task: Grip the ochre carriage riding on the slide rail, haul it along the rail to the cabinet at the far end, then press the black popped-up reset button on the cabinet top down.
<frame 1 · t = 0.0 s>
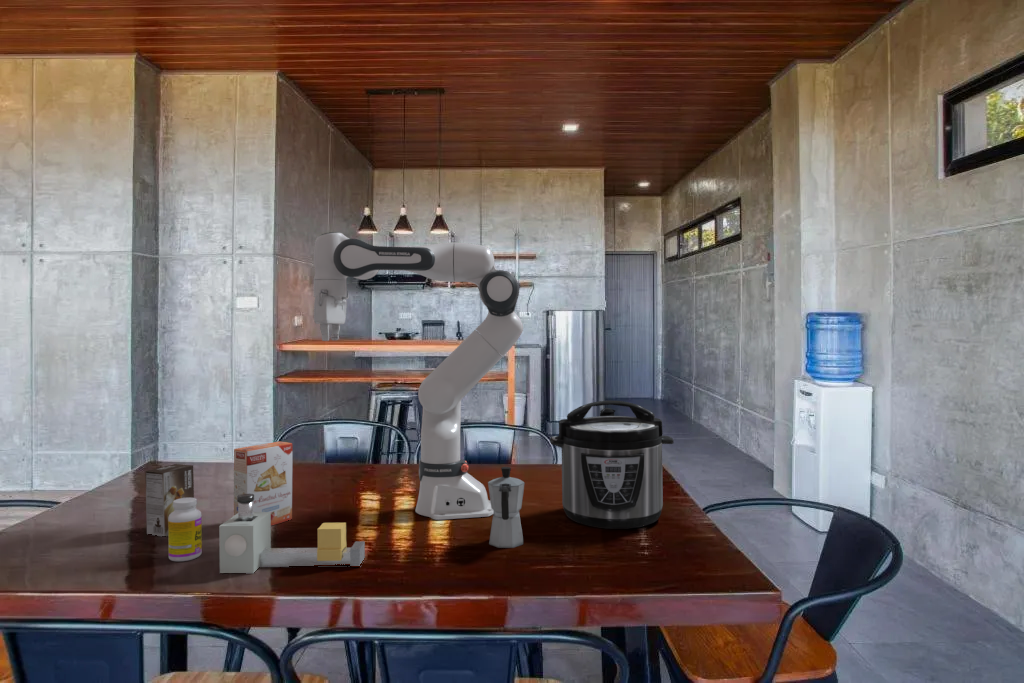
hand: (330, 340, 175), 48 cm above the table, tool pointing down, fingers open, 8 cm apart
supplement bottle: (185, 558, 140), on the table
slide rail: (306, 564, 136), on the table
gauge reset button: (245, 511, 135), point 12 cm above the table, slide at 0.0 cm
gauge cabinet: (246, 564, 135), on the table
cracker box: (264, 525, 163), on the table
pressure cooker: (611, 518, 169), on the table
coffee maker: (506, 544, 149), on the table
coffee box: (170, 531, 159), on the table
rail carriage: (332, 541, 136), point 5 cm above the table, slide at 0.0 cm
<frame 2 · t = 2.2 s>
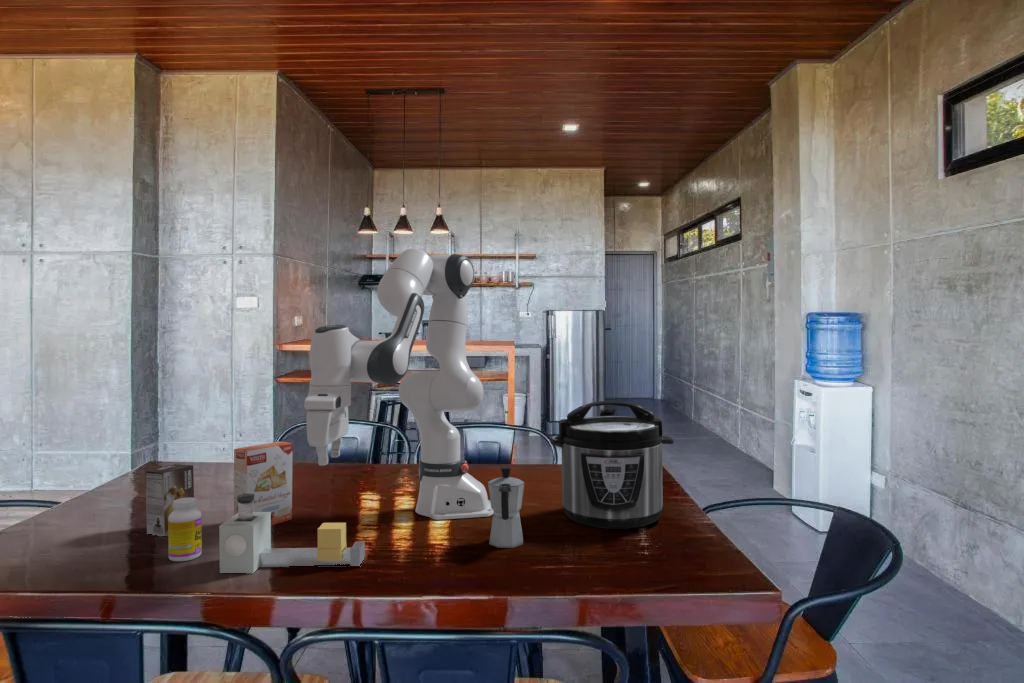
hand: (329, 460, 138), 22 cm above the table, tool pointing down, fingers open, 8 cm apart
nothing on the table moved.
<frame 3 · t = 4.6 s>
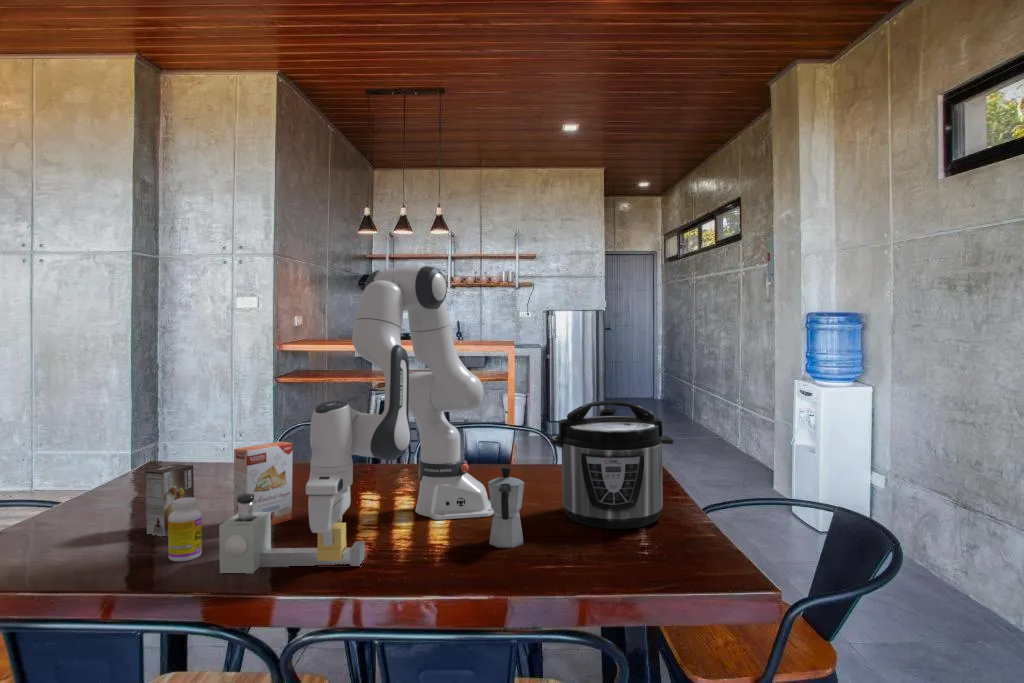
hand: (332, 540, 136), 5 cm above the table, tool pointing down, fingers closed on rail carriage, 4 cm apart
rail carriage: (332, 541, 136), point 5 cm above the table, slide at 0.0 cm, touching gripper
everything else where it was.
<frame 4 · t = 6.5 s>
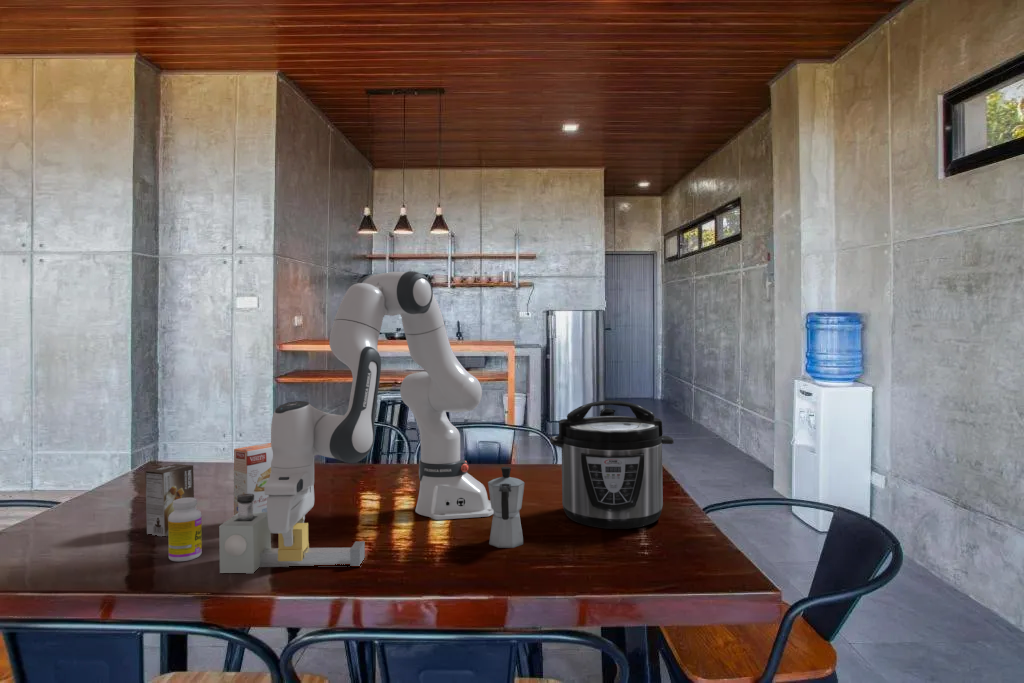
hand: (293, 540, 135), 5 cm above the table, tool pointing down, fingers closed on rail carriage, 4 cm apart
rail carriage: (293, 541, 135), point 5 cm above the table, slide at 8.3 cm, touching gripper
everything else where it was.
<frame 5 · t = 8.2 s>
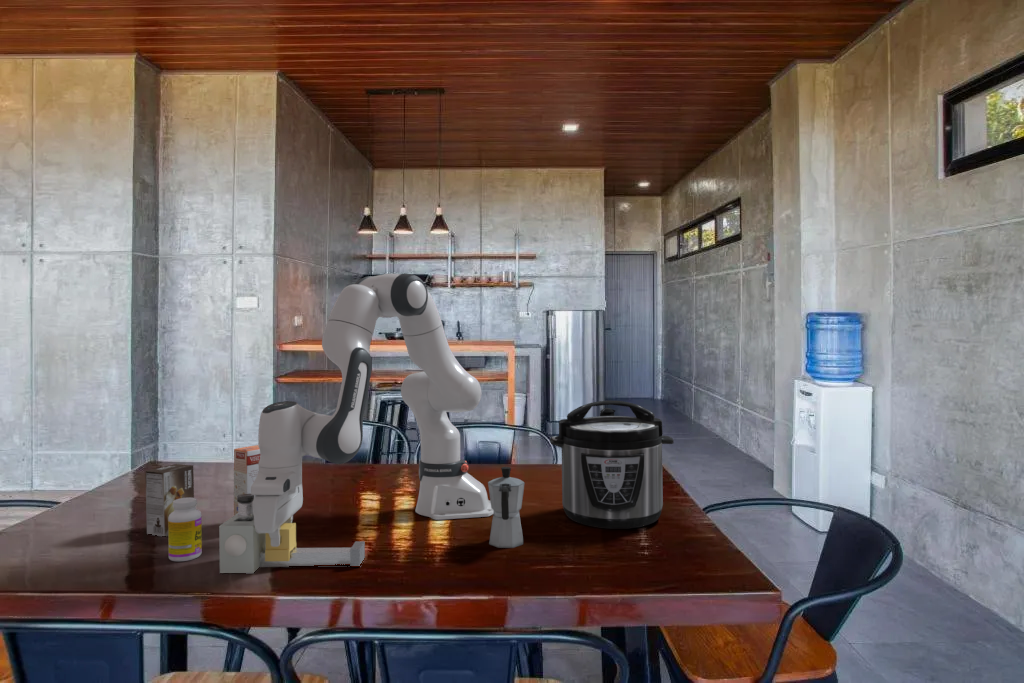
hand: (280, 540, 135), 5 cm above the table, tool pointing down, fingers closed on rail carriage, 4 cm apart
rail carriage: (281, 541, 135), point 5 cm above the table, slide at 11.0 cm, touching gripper
everything else where it was.
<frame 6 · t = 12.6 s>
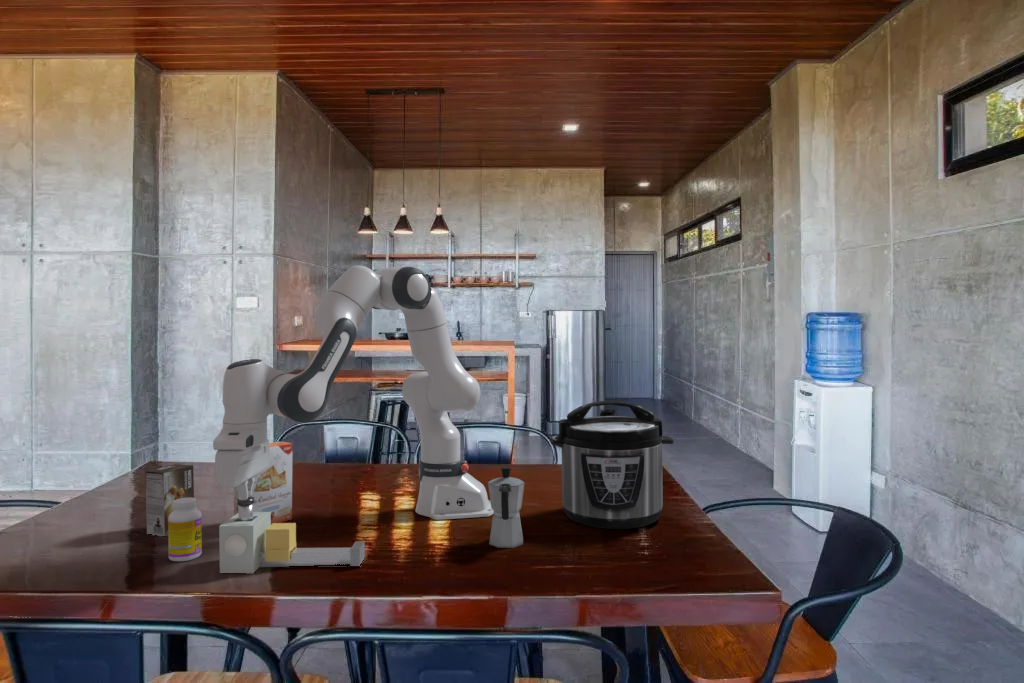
hand: (245, 498, 135), 14 cm above the table, tool pointing down, fingers closed, pressing on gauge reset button
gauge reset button: (245, 514, 135), point 11 cm above the table, slide at 0.6 cm, touching gripper
rail carriage: (281, 541, 135), point 5 cm above the table, slide at 11.0 cm
everything else where it was.
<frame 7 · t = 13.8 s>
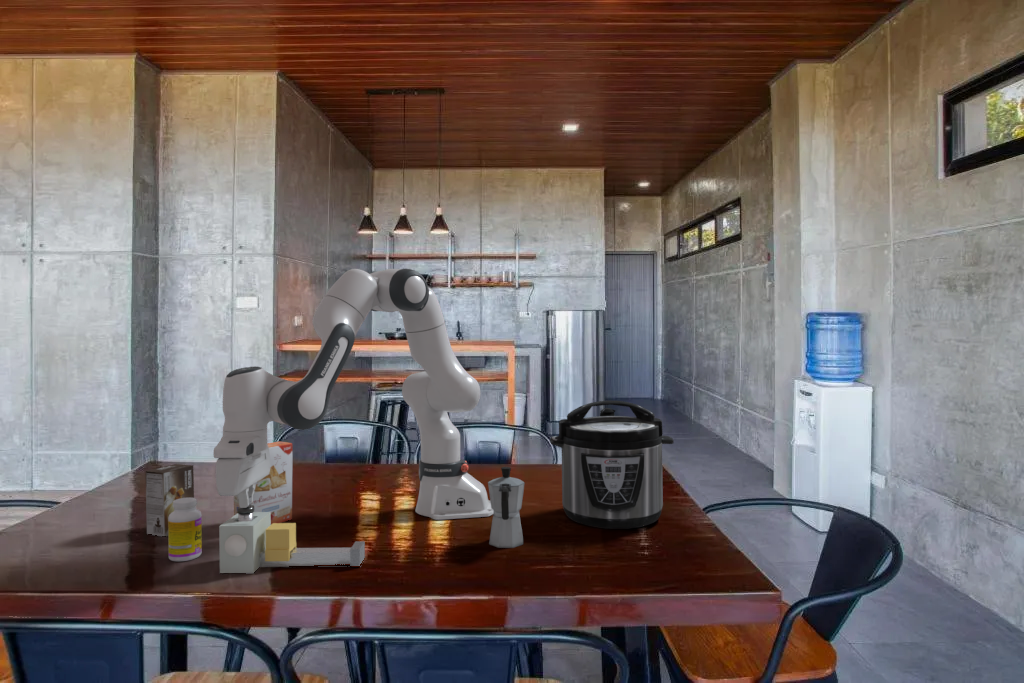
hand: (246, 506, 135), 13 cm above the table, tool pointing down, fingers closed
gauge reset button: (245, 523, 135), point 9 cm above the table, slide at 2.5 cm
everything else where it was.
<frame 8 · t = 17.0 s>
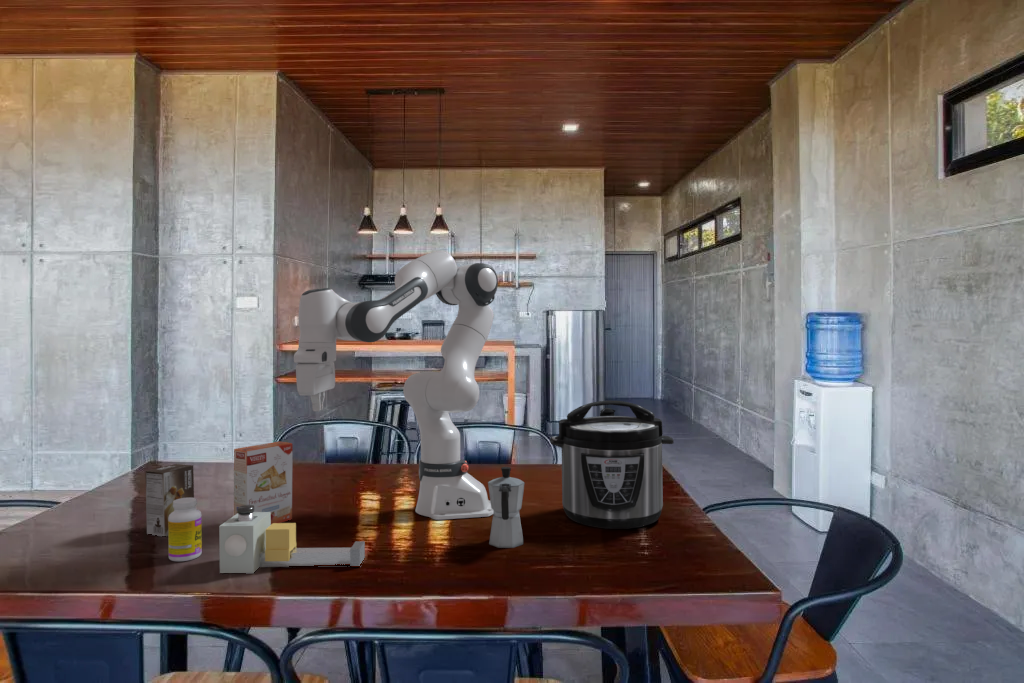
hand: (317, 410, 153), 31 cm above the table, tool pointing down, fingers closed
nothing on the table moved.
at the end: rail carriage slide at 11.0 cm; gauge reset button slide at 2.5 cm; the gripper is holding nothing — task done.
